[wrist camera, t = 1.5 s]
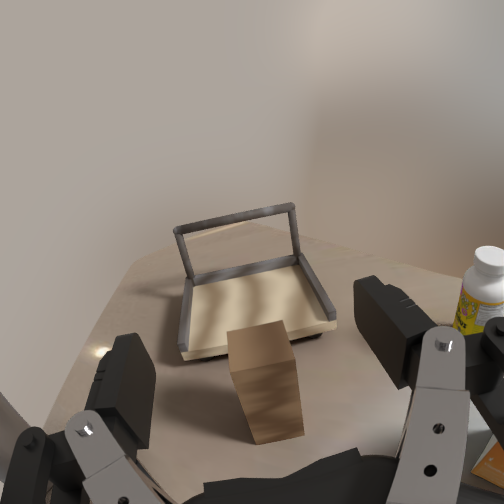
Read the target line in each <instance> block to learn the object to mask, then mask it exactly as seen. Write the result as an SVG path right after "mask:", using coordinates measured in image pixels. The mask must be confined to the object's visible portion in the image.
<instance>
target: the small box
mask: <svg viewBox="0 0 504 504" xmlns="http://www.w3.org/2000/svg"><path fill="white" fill-rule="evenodd" d="M471 473H473V474H475V475H477V476H480V477H482V478H483V479H485V480H487V481H489V482H491V483H493V484H495V485H497V486H499V487H501V488H503V489H504V450H503V449H502V447H501V445H500V444H499V442H498V441H497V439H496V437H495V436H494V434H493V435H492V437H491V439H490V440H489V442H488V444H487V446H486V447H485V449H484V451H483V453H482V454H481V456H480V457H479V459H478V461H477V462H476V464H475V465H474V467H473V468H472V470H471Z"/></svg>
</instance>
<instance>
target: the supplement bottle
mask: <svg viewBox="0 0 504 504" xmlns="http://www.w3.org/2000/svg"><path fill="white" fill-rule="evenodd" d="M503 315H504V250H502V249H500V248H497V247H494V246H482V247H480V248H478V249H477V250H476V251H475V255H474V266H472V267H470V268H469V269H468V270H467V271H466V272H465V274H464V277H463V282H462V288H461V293H460V297H459V302H458V306H457V311H456V315H455V319H454V323H453V327H452V328H454V329H456V330H458V331H459V332H460V333H461V334H462V335H470V334H475V333H481V332H483V330H484V326H485V324H486V322H487V321H488V320H489V319H491V318H493V317H503Z"/></svg>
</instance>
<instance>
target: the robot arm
mask: <svg viewBox="0 0 504 504" xmlns="http://www.w3.org/2000/svg"><path fill="white" fill-rule="evenodd" d="M353 288H354V317H355V322H356V325H357V328H358V330H359V331H360V333H361V334H362V336H363V337H364V339H365V340H366V342H367V343H368V345H369V346H370V348H371V349H372V351H373V352H374V354H375V355H376V357H377V358H378V360H379V361H380V363H381V364H382V366H383V367H384V369H385V370H386V372H387V373H388V375H389V377H390V378H391V380H392V381H393V383H394V384H395V386H396V387H397V389H398V390H399V389H402V388H404V387H406V386H408V385H409V387H410V388H411V390H412V392H411V396H410V401H409V406H408V410H407V415H406V419H405V423H404V427H403V431H402V435H401V439H400V442H399V445H398V449H397V452H396V455H395V457H390V456H384V455H363V456H360V453H359V451H358V449H357V447H356V448H353V449H350V450H347V451H345V452H342V453H339V454H335V455H332V456H329V457H326V458H323V459H320V460H318V461H316V462H314V463H312V464H310V465H308V466H307V467H305V468H303V469H301V470H299V471H297V472H295V473H293V474H291V475H289V476H286V477H284V478H236V479H229V480H222V481H215V482H207V483H203V484H204V493H201V494H198V495H196V496H194V497H192V498H190V499H189V500H187V501H185V502H184V503H183V504H504V495H501V494H497V493H493V492H490V491H487V490H483V489H480V488H477V487H474V486H471V485H468V484H465V483H462V482H460V481H461V476H462V470H463V464H464V457H465V450H466V442H467V433H468V422H469V408H470V399H471V401H472V402H473V404H474V405H475V406H476V408H477V409H478V411H479V412H480V414H481V416H482V417H483V419H484V420H485V422H486V423H487V425H488V426H489V428H490V429H491V431H492V433H493V434H494V436H495V437H496V439H497V441H498V442H499V444H500V445H501V447H502V449H503V450H504V378H503V377H504V317H493V318H491V319H489V320H488V321H487V322H486V324H485V326H484V330H483V332H481V333H475V334H470V335H462V334H461V333H460V332H459V331H458V330H456V329H454V328H452V327H448V326H437V325H436V324H435V323H434V322H433V321H432V320H431V319H430V318H429V317H428V315H427V314H426V313H425V312H424V311H423V310H422V309H421V308H420V307H419V306H418V305H416V304H415V302H414V301H413V300H412V299H409V296H407V295H406V294H405V293H404V292H403V291H402V290H401V289H399V288H397V287H395V286H393V285H390V284H388V285H384V284H383V283H382V282H381V281H380V280H379V279H378V278H377V277H376V276H374V275H372V276H369V277H365V278H362V279H358V280H355V281H354V285H353ZM96 372H97V373H96V374H95V377H94V382H93V383H92V386H91V389H90V393H89V396H88V399H87V402H86V406H85V409H84V411H81V412H79V413H77V414H75V415H74V416H73V417H71V418H70V420H69V421H68V423H67V424H66V427H65V430H64V431H61V432H58V433H55V434H51V435H47V434H46V433H45V432H44V431H43V430H42V429H41V428H39V427H30V425H29V424H28V423H27V422H26V421H25V420H24V419H23V418H22V417H21V416H20V414H18V412H17V411H16V410H15V409H14V408H13V407H12V405H11V404H10V403H9V402H8V401H7V399H6V398H5V397H4V396H3V395H2V393H1V392H0V481H2V482H3V483H4V488H3V492H2V497H1V501H0V504H46V502H45V498H46V492H48V491H49V490H50V489H51V487H52V486H53V488H52V495H51V501H50V504H89V502H90V499H91V501H92V502H93V504H177V503H176V502H175V501H174V500H173V499H172V498H171V497H170V496H169V495H168V494H167V493H166V492H165V491H164V490H163V488H162V487H161V486H160V485H159V484H158V483H157V481H156V480H155V479H154V478H153V477H152V476H151V474H150V473H149V472H148V471H147V469H146V468H145V467H144V466H143V465H142V463H141V462H140V461H139V460H138V459H137V458H136V455H137V449H149V438H150V427H151V417H152V408H153V399H154V391H155V383H156V372H155V367H154V364H153V362H152V360H151V358H150V356H149V354H148V352H147V350H146V349H145V347H144V345H143V343H142V341H141V339H140V337H139V335H138V334H137V333H130V334H125V335H120V336H117V337H116V339H115V342H114V345H113V348H112V351H107V353H106V354H105V355H104V356H103V358H102V359H101V360H100V362H99V365H98V368H97V371H96Z"/></svg>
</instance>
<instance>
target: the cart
mask: <svg viewBox="0 0 504 504" xmlns="http://www.w3.org/2000/svg"><path fill="white" fill-rule="evenodd" d="M286 212H288V217H289V225H290V232H291V239H292V246H293V254H294V255H289V256H284V257H280V258H275V259H270V260H266V261H261V262H256V263H252V264H247V265H242V266H238V267H233V268H228V269H223V270H219V271H214V272H209V273H204V274H199V275H195V276H194V272H193V269H192V266H191V262H190V259H189V256H188V252H187V249H186V245H185V242H184V238H183V235H182V234H186V233H191V232H195V231H200V230H204V229H209V228H214V227H218V226H223V225H228V224H232V223H237V222H242V221H247V220H251V219H256V218H261V217H266V216H271V215H276V214H280V213H286ZM173 233H174V234H175V238H176V241H177V245H178V248H179V251H180V255H181V258H182V261H183V264H184V268H185V271H186V274H187V277H186V280H185V287H184V294H183V301H182V308H181V316H180V324H179V332H178V340H177V345H178V347H179V350H180V352H181V354H182V357H183V359H184V361H186V360H193V359H200V360H202V361H209V360H211V359H212V357H213V356H216V355H222V354H227V353H228V344H227V331H232V330H237V329H242V328H247V327H252V326H257V325H262V324H266V323H271V322H275V321H280V320H283V323H284V326H285V329H286V332H287V335H288V338H289V340H294V339H298V338H302V337H306V336H310V337H311V338H317V337H319V336H321V335H322V333H323V332H326V331H330V330H333V329H337V323H336V309H335V308H334V306H333V304H332V302H331V301H330V299H329V297H328V295H327V294H326V292H325V290H324V289H323V287H322V285H321V283H320V282H319V280H318V278H317V277H316V275H315V273H314V271H313V270H312V268H311V266H310V265H309V263H308V261H307V260H306V258H305V256H304V255H303V253H301V252H300V243H299V236H298V228H297V220H296V214H295V205H294V203H291V202H290V203H285V204H280V205H275V206H270V207H265V208H260V209H255V210H250V211H246V212H241V213H236V214H231V215H226V216H222V217H217V218H212V219H208V220H204V221H199V222H195V223H190V224H186V225H181V226H177V227H175V228H174V229H173Z"/></svg>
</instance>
